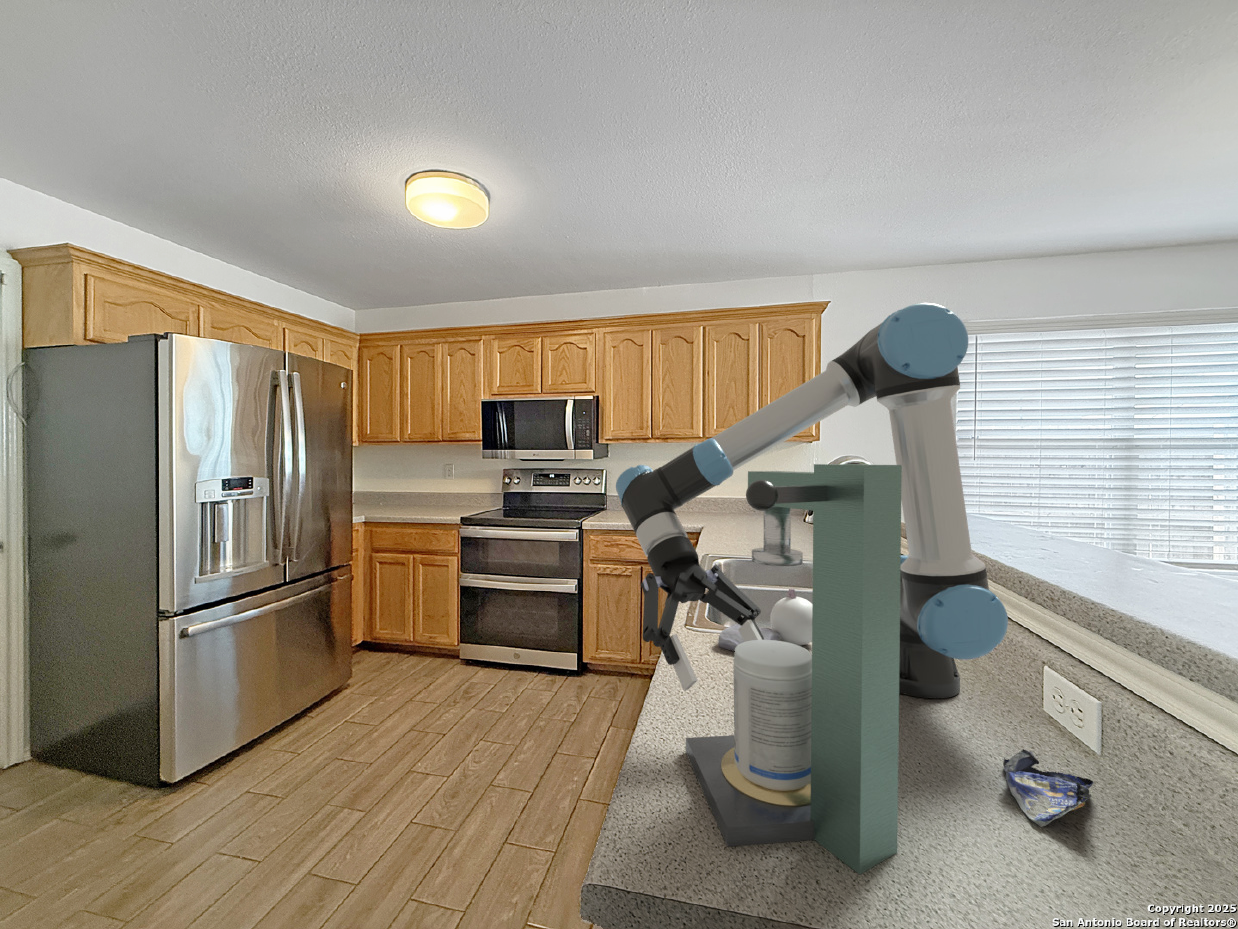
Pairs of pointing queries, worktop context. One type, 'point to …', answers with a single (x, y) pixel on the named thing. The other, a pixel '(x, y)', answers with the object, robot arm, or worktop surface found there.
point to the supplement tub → (773, 713)
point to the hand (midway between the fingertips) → (730, 675)
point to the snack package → (1044, 787)
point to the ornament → (792, 619)
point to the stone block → (733, 637)
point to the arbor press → (830, 670)
